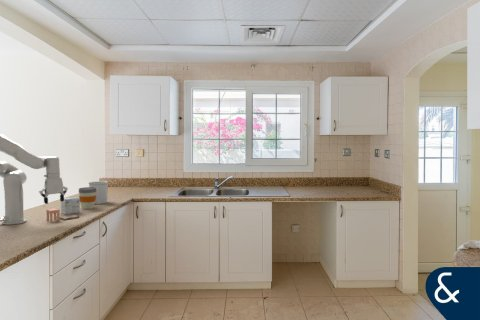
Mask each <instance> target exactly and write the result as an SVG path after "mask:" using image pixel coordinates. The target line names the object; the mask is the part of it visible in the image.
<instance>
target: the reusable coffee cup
mask: <svg viewBox="0 0 480 320" xmlns="http://www.w3.org/2000/svg"><path fill="white" fill-rule="evenodd" d="M78 198H80V209H82V210H84V209H85V210H88V209H93V208H95V204H94V203H95V200H96V188H94V187H89V186H87V187H79V188H78Z"/></svg>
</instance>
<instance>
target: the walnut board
mask: <svg viewBox="0 0 480 320" xmlns="http://www.w3.org/2000/svg"><path fill="white" fill-rule="evenodd" d="M74 219H80V216H79V215H76V214H74V213H72V214H63V215H60V220H62V221H68V220H74Z"/></svg>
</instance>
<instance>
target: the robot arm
mask: <svg viewBox="0 0 480 320" xmlns="http://www.w3.org/2000/svg"><path fill="white" fill-rule="evenodd" d="M0 152H2V153H4V154H5V155H7V156H9V157H11V158H12V159H14V160H16V161H18V162H20V163H21V164H23V165H24V166H26V167H29V168H31V169H34V170H39V169H44V168H45V174H44V175H43V178H45V179H44V185H43V188H42V189H40V190H39V191H38V193H39V194H40V196H42V198H43V203H44V204H45V205H47V204H49V197H48V196H49V195H56V194H59V201H60V202H61V201H64V198H65V194H66V193H67V191H68V189H69V188H68V187H67V186H64V184H63V183H64V182H63V179H62V177H61V173H60V171H61V170H60V157H59V156H36V155H35V154H33V153H30V151H27V150H26V149H25V148H24V147H23V146H22V145H21V144H19V143H17V142H15V141H13V140H11V139H9V138H8V137H7V136H6V135H4V134H2V133H0ZM27 177H28V176H27V174H26V173H25V172H24V171H23V170H21V169H19V168H18V167H16V166H14V165H13V164H11V163H9V162H7V161H5V160H0V178H3V180H2V181H3V182H2V183H3V188H4V189H3V191H4V215H3V216H1V217H0V222H1V224H2V225H20V224H24V223H26V222H27V218H24V188H23V184H25V183H26V181H27Z"/></svg>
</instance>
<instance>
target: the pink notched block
mask: <svg viewBox="0 0 480 320" xmlns="http://www.w3.org/2000/svg"><path fill="white" fill-rule="evenodd" d="M60 212H61V208H60V209H59V208H55V207H54V208H50V209H46V221H47V222H51V223H53V220H57V221H60V220H61V219H60V216H61V215H60V214H61V213H60Z"/></svg>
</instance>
